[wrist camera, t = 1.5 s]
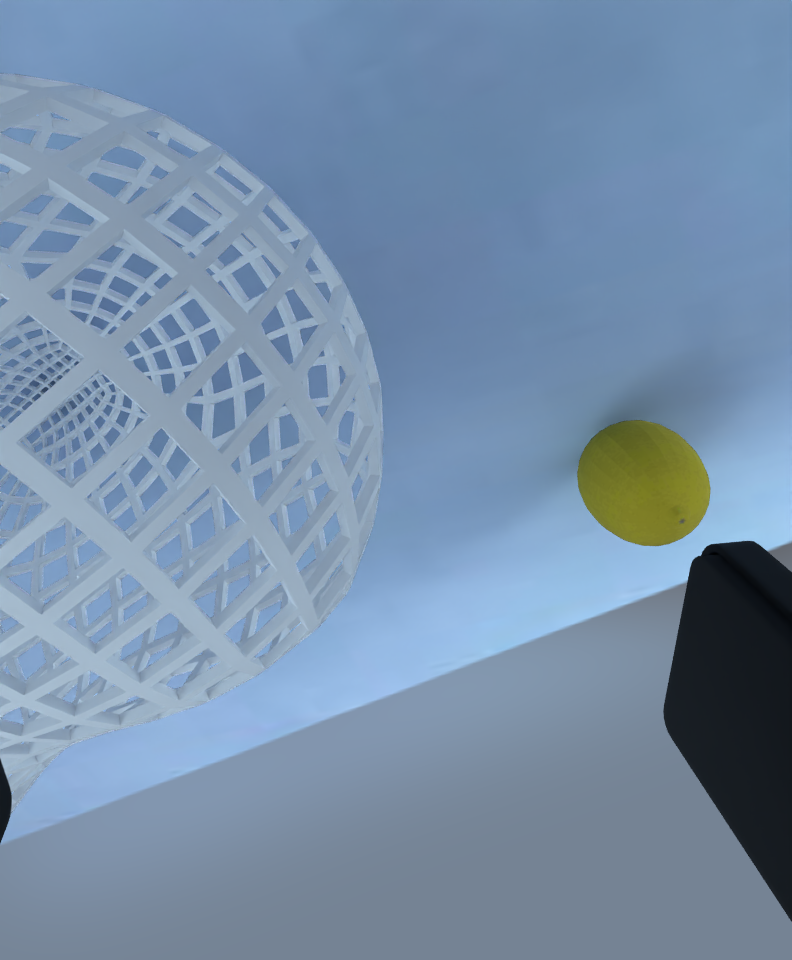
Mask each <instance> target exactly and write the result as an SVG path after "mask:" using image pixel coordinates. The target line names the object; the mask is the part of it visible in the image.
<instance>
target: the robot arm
mask: <svg viewBox="0 0 792 960" xmlns="http://www.w3.org/2000/svg"><path fill="white" fill-rule="evenodd" d="M664 720H665V725H666V728H667V730H668V733H669V734H670V736H671V738H672V740H673V741H674V743H675V744H676V746H677V747H678V749H679V750H680V752H681V753H682V755H683V756H684V758H685V760H686V761H687V763H688V764H689V765H690V767H691V769H692V770H693V772H694V773H695V775H696V776H697V778H698V779H699V781H700V782H701V784H702V786H703V787H704V788H705V790H706V792H707V793H708V795H709V796H710V798H711V799H712V801H713V802H714V804H715V805H716V807H717V808H718V810H719V811H720V813H721V815H722V816H723V817H724V819H725V821H726V822H727V824H728V825H729V827H730V828H731V829H732V831H733V833H734V834H735V836H736V837H737V839H738V840H739V842H740V844H741V845H742V847H743V848H744V849H745V851H746V853H747V854H748V856H749V857H750V859H751V860H752V862H753V863H754V865H755V866H756V868H757V870H758V871H759V872H760V874H761V876H762V877H763V879H764V880H765V882H766V883H767V885H768V886H769V888H770V889H771V891H772V892H773V894H774V895H775V897H776V899H777V900H778V901H779V903H780V904H781V906H782V908H783V909H784V911H785V912H786V914H787V915H788V917H789V918H790V920H791V921H792V572H791V571H789V570H788V569H787V568H786V567H785V566H784V565H782V564H781V563H780V562H779V561H778V560H776V559H775V558H774V557H773V556H772V555H770V553H768V552H767V551H766V550H765V549H764V548H763V547H761V546H760V545H759V544H757V543H755V542H754V541H741V542H731V543H720V544H711V545H709V546H707V547H706V548H705V549H704V551H703V552H702V555H701V556H698V557H696V558H695V559H694V560H693V561H692V564H691V567H690V572H689V577H688V583H687V588H686V593H685V599H684V604H683V609H682V614H681V619H680V625H679V630H678V635H677V640H676V645H675V651H674V656H673V661H672V667H671V672H670V677H669V683H668V688H667V693H666V698H665V703H664ZM11 808H12V795H11V789H10V786H9V783H8V780H7V777H6V774H5V771H4V768H3V765H2V762H1V759H0V843H1V840H2V837H3V835H4V832H5V830H6V827H7V825H8V822H9V818H10V814H11Z"/></svg>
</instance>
